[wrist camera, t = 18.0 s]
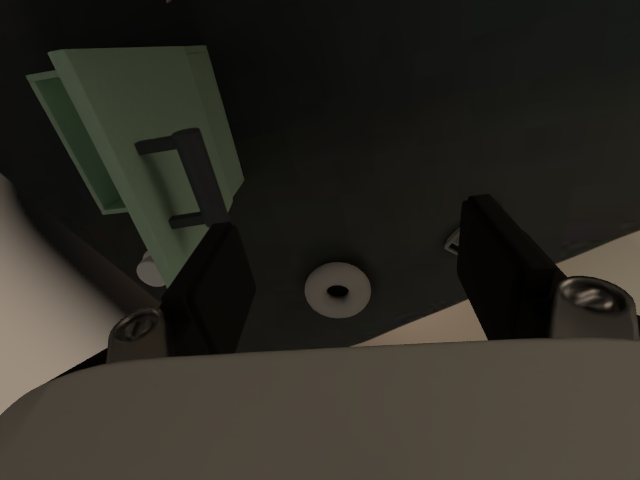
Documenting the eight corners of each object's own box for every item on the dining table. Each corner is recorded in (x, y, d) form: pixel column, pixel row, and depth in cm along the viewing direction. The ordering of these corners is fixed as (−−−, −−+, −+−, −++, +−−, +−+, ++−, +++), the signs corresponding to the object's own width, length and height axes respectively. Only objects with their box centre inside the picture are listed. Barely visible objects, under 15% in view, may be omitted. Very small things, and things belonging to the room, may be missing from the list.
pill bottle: (168, 252, 49) (139, 289, 42) (160, 225, 47) (127, 259, 40) (199, 253, 49) (175, 290, 42) (192, 226, 47) (165, 260, 40)
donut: (343, 245, 47) (292, 279, 51) (344, 259, 44) (289, 293, 48) (382, 288, 51) (332, 316, 54) (385, 303, 48) (332, 332, 51)
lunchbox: (130, 194, 44) (102, 214, 39) (69, 69, 37) (25, 75, 31) (244, 179, 42) (231, 200, 37) (206, 44, 35) (181, 46, 29)
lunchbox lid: (176, 307, 22) (242, 297, 22) (45, 52, 14) (147, 33, 14) (226, 202, 37) (266, 195, 37) (175, 47, 29) (226, 38, 29)
